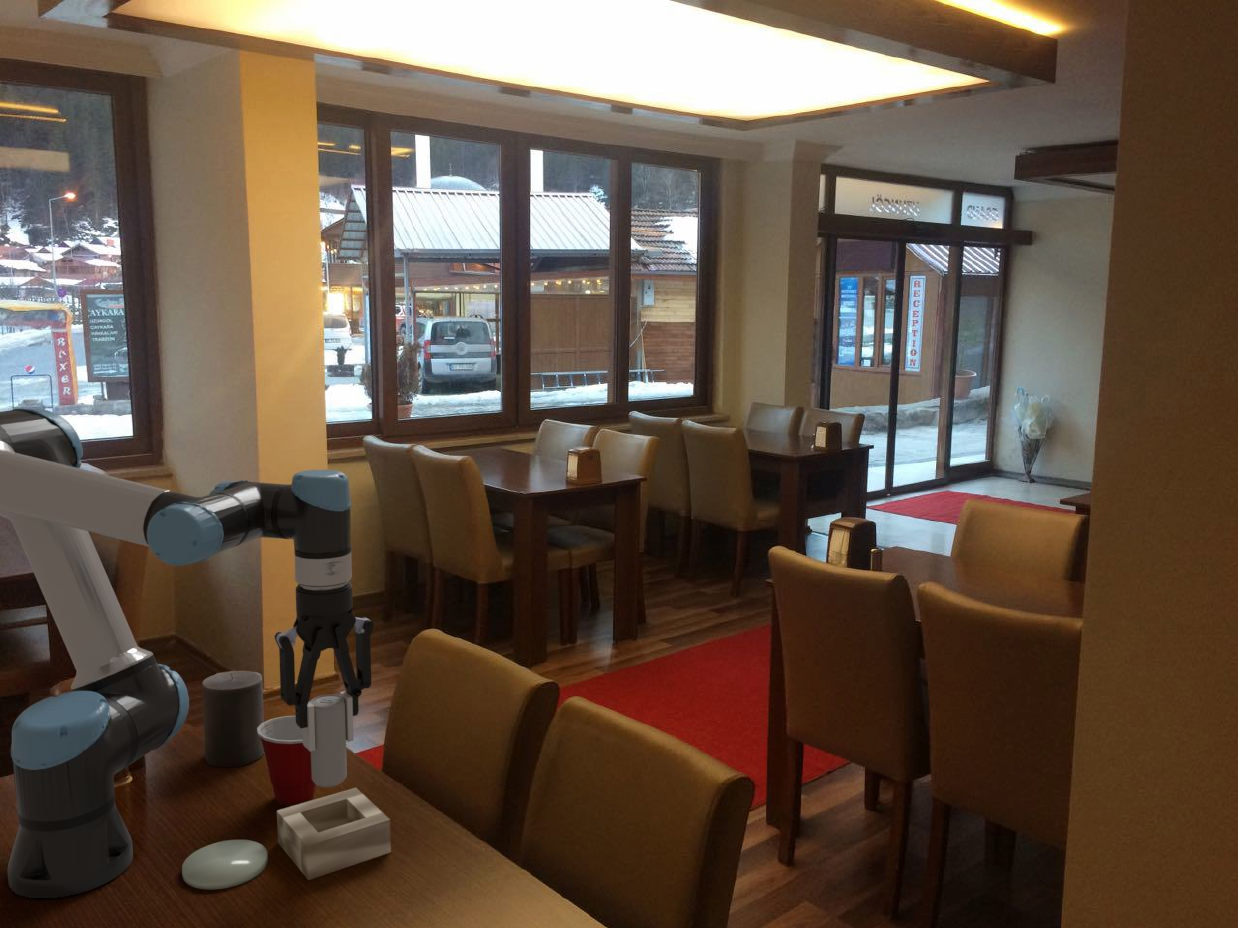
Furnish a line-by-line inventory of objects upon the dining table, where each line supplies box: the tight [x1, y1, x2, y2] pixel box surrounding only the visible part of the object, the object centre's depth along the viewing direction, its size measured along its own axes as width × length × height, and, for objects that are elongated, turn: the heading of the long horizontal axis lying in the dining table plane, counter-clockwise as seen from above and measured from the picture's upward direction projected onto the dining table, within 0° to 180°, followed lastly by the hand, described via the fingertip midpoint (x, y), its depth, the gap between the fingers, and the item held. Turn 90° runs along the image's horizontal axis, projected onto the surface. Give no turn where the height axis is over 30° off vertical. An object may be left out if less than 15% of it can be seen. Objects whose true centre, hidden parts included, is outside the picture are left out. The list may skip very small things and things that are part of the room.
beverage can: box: [309, 693, 348, 788], centre depth 143 cm, size 5×5×12 cm
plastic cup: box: [257, 715, 317, 807], centre depth 160 cm, size 11×11×12 cm
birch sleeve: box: [276, 787, 392, 881], centre depth 146 cm, size 12×12×5 cm
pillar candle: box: [201, 670, 265, 768], centre depth 174 cm, size 10×10×15 cm
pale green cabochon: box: [181, 839, 268, 890], centre depth 141 cm, size 11×11×1 cm
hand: (328, 742), depth 144 cm, fingers closed on beverage can, 5 cm apart
